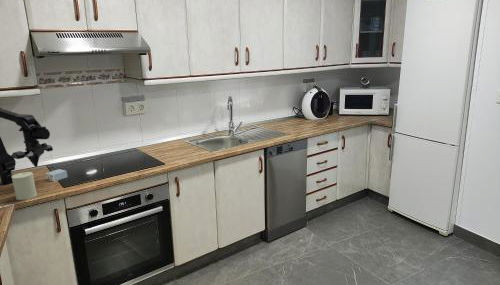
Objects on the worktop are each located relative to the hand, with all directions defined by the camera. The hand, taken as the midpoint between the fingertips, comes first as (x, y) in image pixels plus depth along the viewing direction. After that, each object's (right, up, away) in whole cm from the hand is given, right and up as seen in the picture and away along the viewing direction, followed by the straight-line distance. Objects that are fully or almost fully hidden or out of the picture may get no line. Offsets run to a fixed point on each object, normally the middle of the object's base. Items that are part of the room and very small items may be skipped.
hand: (36, 166), depth 196 cm
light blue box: (+4, -6, +7) cm, 10 cm away
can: (+4, -14, -14) cm, 20 cm away
